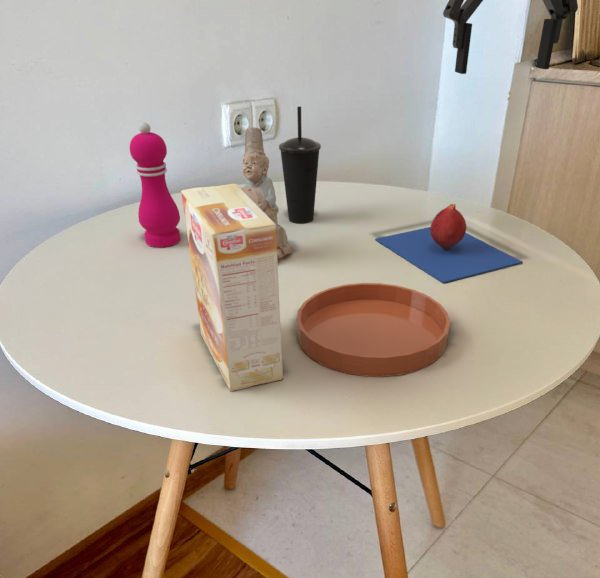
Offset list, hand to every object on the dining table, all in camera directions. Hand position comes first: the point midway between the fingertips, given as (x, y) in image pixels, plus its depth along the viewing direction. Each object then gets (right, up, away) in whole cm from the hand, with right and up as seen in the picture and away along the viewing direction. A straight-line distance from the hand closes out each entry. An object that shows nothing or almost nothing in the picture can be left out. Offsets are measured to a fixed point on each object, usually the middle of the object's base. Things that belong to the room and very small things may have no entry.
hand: (501, 70), depth 93 cm
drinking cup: (-31, -16, +23) cm, 42 cm away
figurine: (-37, -27, +9) cm, 47 cm away
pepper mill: (-57, -23, +15) cm, 63 cm away
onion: (-7, -26, +9) cm, 28 cm away
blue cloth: (-7, -26, +9) cm, 28 cm away
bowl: (-22, -43, -13) cm, 50 cm away
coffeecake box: (-39, -46, -16) cm, 63 cm away
